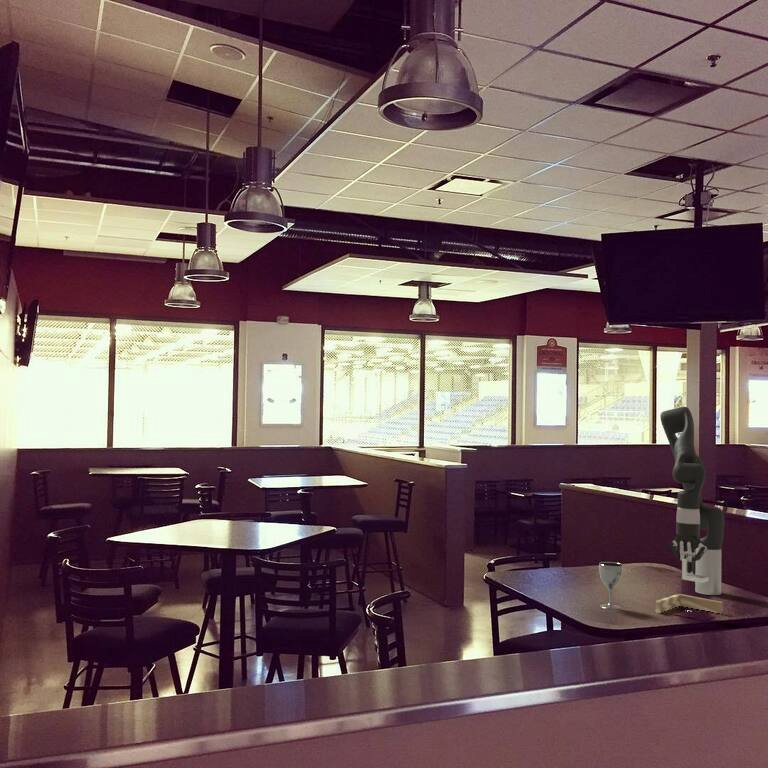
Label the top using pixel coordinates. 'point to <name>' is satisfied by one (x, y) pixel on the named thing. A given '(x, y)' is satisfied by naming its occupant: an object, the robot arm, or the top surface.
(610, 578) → the wine glass
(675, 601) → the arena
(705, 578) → the bracket
